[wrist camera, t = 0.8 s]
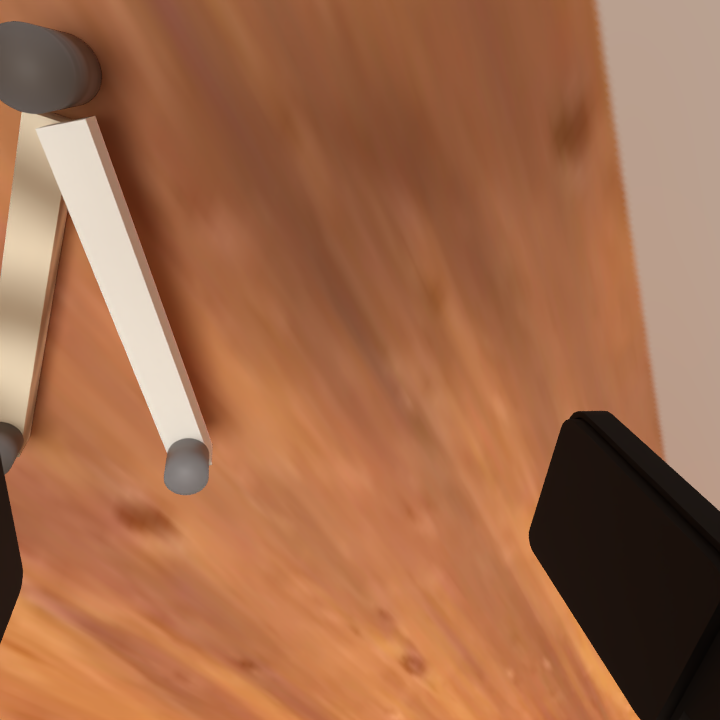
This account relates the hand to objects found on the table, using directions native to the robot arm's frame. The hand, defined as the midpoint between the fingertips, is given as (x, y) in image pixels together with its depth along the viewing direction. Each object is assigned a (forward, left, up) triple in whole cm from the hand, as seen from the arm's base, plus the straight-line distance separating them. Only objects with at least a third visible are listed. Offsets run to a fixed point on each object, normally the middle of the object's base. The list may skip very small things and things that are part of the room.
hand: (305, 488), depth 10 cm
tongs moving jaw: (+5, -5, -21) cm, 23 cm away
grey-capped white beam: (+3, -11, -24) cm, 26 cm away
